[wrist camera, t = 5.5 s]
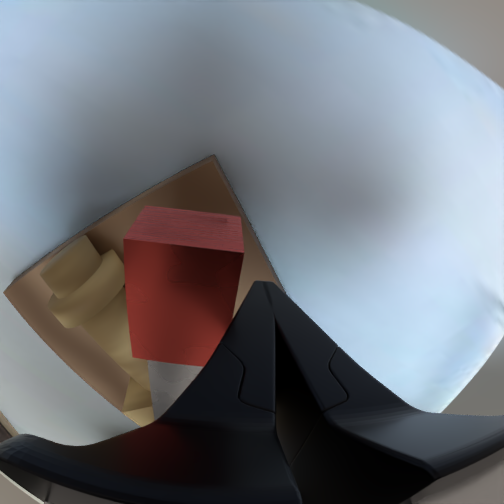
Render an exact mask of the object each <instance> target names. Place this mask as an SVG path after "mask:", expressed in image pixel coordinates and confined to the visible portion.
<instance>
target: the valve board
mask: <svg viewBox="0 0 504 504" xmlns="http://www.w3.org/2000/svg"><path fill="white" fill-rule="evenodd" d="M146 205H147V206H157V207H166V208H175V209H183V210H192V211H200V212H209V213H217V214H225V215H233V216H240V217H241V225H242V234H243V244H244V258H243V263H242V269H241V274H240V280H239V285H238V291H237V297H236V302H235V308H234V313H233V318H234V316H235V314H236V312H237V311H238V309H239V307H240V305H241V303H242V302H243V300H244V298H245V296H246V295H247V293H248V291H249V289H250V288H251V286H252V284H253V282H254V281H255V280H259V281H272V282H274V283H275V284H276V285H277V286H278V287H279V288H280V289H281V290H282V291H283V292H284V293H285V291H284V289H283V287H282V285H281V283H280V281H279V279H278V277H277V275H276V273H275V271H274V269H273V267H272V265H271V263H270V261H269V259H268V257H267V255H266V253H265V252H264V250H263V248H262V246H261V244H260V242H259V240H258V238H257V236H256V234H255V232H254V230H253V228H252V226H251V224H250V222H249V220H248V219H247V217H246V215H245V213H244V211H243V209H242V207H241V205H240V203H239V201H238V199H237V197H236V195H235V193H234V192H233V190H232V188H231V186H230V184H229V182H228V180H227V178H226V176H225V174H224V172H223V170H222V169H221V167H220V165H219V163H218V161H217V159H216V157H215V155H212V156H210V157H208V158H206V159H204V160H202V161H200V162H198V163H196V164H194V165H192V166H190V167H188V168H186V169H185V170H183V171H181V172H179V173H177V174H175V175H173V176H172V177H170V178H168V179H166V180H164V181H162V182H161V183H159V184H157V185H155V186H154V187H152V188H150V189H148V190H147V191H145V192H143V193H141V194H140V195H138V196H136V197H135V198H133V199H131V200H130V201H128V202H126V203H125V204H123V205H121V206H120V207H118V208H116V209H115V210H113V211H112V212H110V213H108V214H107V215H105V216H104V217H102V218H100V219H99V220H97V221H96V222H94V223H93V224H91V225H90V226H88V227H87V228H85V229H84V230H82V231H81V232H79V233H78V234H76V235H75V236H73V237H72V238H70V239H69V240H67V241H66V242H64V243H63V244H62V245H60V246H59V247H57V248H56V249H54V250H53V251H52V252H50V253H49V254H48V255H46V256H45V257H43V258H42V259H41V260H39V261H38V262H37V263H35V264H34V265H33V266H31V267H30V268H29V269H27V270H26V271H25V272H23V273H22V274H21V275H20V276H18V277H17V278H16V279H14V280H13V281H12V283H11V284H10V285H9V286H8V287H7V289H6V290H5V291H4V292H3V293H4V294H5V296H6V297H7V298H8V300H9V301H10V302H11V303H12V305H13V306H14V307H15V308H16V310H17V311H18V312H19V313H20V315H21V316H22V317H23V318H24V319H25V320H26V322H27V323H28V324H29V325H30V326H31V327H32V328H33V330H34V331H35V332H36V333H37V334H38V335H39V336H40V337H41V338H42V340H43V341H44V342H45V343H46V344H47V345H48V346H49V347H50V348H51V349H52V350H53V351H54V352H55V353H56V354H57V355H58V356H59V357H60V358H61V359H62V360H63V361H64V362H65V363H66V364H67V365H68V366H69V367H70V368H71V369H72V370H73V371H74V372H75V373H76V374H77V375H79V376H80V377H81V378H82V379H83V380H84V381H85V382H86V383H87V384H89V385H90V386H91V387H92V388H93V389H94V390H95V391H97V392H98V393H99V394H100V395H101V396H102V397H104V398H105V399H106V400H107V401H108V402H110V403H111V404H112V405H113V406H115V407H116V408H117V409H118V410H120V411H121V412H122V413H123V414H124V415H126V416H127V417H128V418H130V419H131V420H132V421H134V422H135V423H136V424H138V425H139V426H141V427H143V426H145V425H148V424H150V423H152V422H153V421H155V420H154V413H153V406H152V398H151V390H150V381H149V372H148V361H147V360H145V359H139V358H132V350H131V342H130V334H129V324H128V314H127V303H126V289H125V272H124V247H123V238H124V237H125V235H126V234H127V232H128V230H129V229H130V227H131V226H132V225H133V223H134V222H135V220H136V219H137V217H138V216H139V214H140V213H141V211H142V210H143V208H144V207H145V206H146ZM285 294H286V293H285Z"/></svg>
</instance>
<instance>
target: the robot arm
mask: <svg viewBox="0 0 504 504" xmlns="http://www.w3.org/2000/svg"><path fill="white" fill-rule="evenodd" d="M0 470H1V471H2V472H3V473H4V474H6V475H7V476H8V477H9V478H11V479H12V480H13V481H15V482H16V483H17V484H19V485H20V486H21V487H23V488H24V489H25V490H27V491H28V492H30V493H31V494H33V495H34V496H36V497H37V498H39V499H40V500H42V501H43V502H44V504H504V415H500V416H472V415H454V414H441V413H430V412H425V411H421V410H419V409H416V408H414V407H412V406H410V405H409V404H408V403H406V402H405V401H403V400H402V399H401V398H399V397H398V396H397V395H396V394H394V393H393V392H392V391H391V390H389V389H388V388H387V387H385V386H384V385H383V384H382V383H380V382H379V381H378V380H376V379H375V378H374V377H373V376H371V375H370V374H369V373H368V372H367V371H365V370H364V369H363V368H362V367H361V366H359V365H358V364H357V363H356V362H355V361H354V360H353V359H352V358H351V357H350V356H349V355H348V354H347V353H346V352H344V351H343V350H342V349H341V348H340V347H338V345H337V344H336V343H335V342H334V341H333V340H332V339H331V338H330V337H329V336H328V335H327V334H326V333H325V332H324V331H323V330H322V329H321V328H320V327H319V326H318V325H317V324H316V323H315V322H314V321H313V320H312V319H311V318H310V317H309V316H308V315H307V314H306V313H305V312H304V311H303V310H302V309H301V308H300V307H299V306H298V305H296V304H295V303H294V302H293V301H292V300H291V299H290V298H289V297H288V296H287V295H286V294H285V293H284V292H283V291H282V290H281V289H280V288H279V287H278V286H277V285H276V284H275V283H274V282H272V281H259V280H255V281H254V282H253V284H252V286H251V288H250V289H249V291H248V293H247V295H246V296H245V298H244V300H243V302H242V303H241V305H240V307H239V309H238V311H237V312H236V314H235V316H234V318H233V319H232V321H231V323H230V325H229V326H228V328H227V330H226V332H225V333H224V335H223V337H222V339H221V340H220V342H219V344H218V345H217V347H216V349H215V350H214V352H213V354H212V355H211V357H210V358H209V360H208V361H207V363H206V364H205V366H204V367H203V368H202V370H201V371H200V372H199V373H198V375H197V376H196V377H195V378H194V380H193V381H192V382H191V383H190V384H189V385H188V387H187V388H186V389H185V390H184V391H183V392H182V393H181V395H180V396H179V397H178V398H177V399H176V400H175V402H174V403H173V404H172V405H171V406H170V407H169V408H168V409H167V410H166V411H165V413H164V414H162V415H161V416H160V417H159V418H158V419H156V420H155V421H153V422H152V423H150V424H148V425H145V426H143V427H140V428H138V429H135V430H132V431H130V432H127V433H124V434H121V435H119V436H116V437H113V438H110V439H107V440H104V441H101V442H98V443H95V444H91V445H85V446H69V445H63V444H59V443H55V442H52V441H49V440H46V439H44V438H41V437H38V436H35V435H30V434H20V435H17V436H15V437H12V438H10V439H7V440H5V441H3V442H2V443H0Z"/></svg>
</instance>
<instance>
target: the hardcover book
mask: <svg viewBox="0 0 504 504" xmlns="http://www.w3.org/2000/svg"><path fill="white" fill-rule="evenodd" d="M17 435H19V434H18V432H17V431H16V430H15V429H14V428H13V426H12V425H11V424H10V423H9V422H8V420H7V419H6V418H5V416H4V415H3V414H2V413H1V411H0V443H2V442H3V441H5V440H7V439H10V438H12V437H15V436H17Z"/></svg>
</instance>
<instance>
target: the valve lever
mask: <svg viewBox="0 0 504 504" xmlns="http://www.w3.org/2000/svg"><path fill="white" fill-rule="evenodd" d="M123 247H124V272H125V289H126V303H127V314H128V324H129V334H130V342H131V350H132V358H139V359H145V360H147V361H148V372H149V381H150V390H151V398H152V406H153V413H154V420H156V419H158V418H159V417H160V416H161V415H162V414H164V413H165V411H166V410H167V409H168V408H169V407H170V406H171V405H172V404H173V403H174V402H175V400H176V399H177V398H178V397H179V396H180V395H181V393H182V392H183V391H184V390H185V389H186V388H187V387H188V385H189V384H190V383H191V382H192V381H193V380H194V378H195V377H196V376H197V375H198V373H199V372H200V371H201V370H202V368H203V367H204V366H205V364H206V363H207V361H208V360H209V358H210V357H211V355H212V354H213V352H214V350H215V349H216V347H217V345H218V344H219V342H220V340H221V339H222V337H223V335H224V333H225V332H226V330H227V328H228V326H229V325H230V323H231V321H232V319H233V313H234V308H235V302H236V297H237V291H238V285H239V280H240V274H241V269H242V263H243V258H244V244H243V234H242V225H241V217H240V216H233V215H225V214H217V213H209V212H200V211H192V210H183V209H175V208H166V207H157V206H147V205H146V206H145V207H144V208H143V210H142V211H141V213H140V214H139V216H138V217H137V219H136V220H135V222H134V223H133V225H132V226H131V227H130V229H129V230H128V232H127V234H126V235H125V237H124V238H123Z"/></svg>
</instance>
